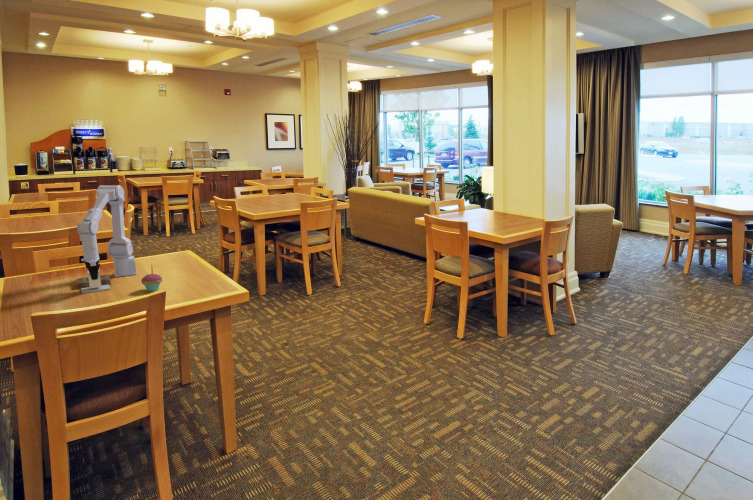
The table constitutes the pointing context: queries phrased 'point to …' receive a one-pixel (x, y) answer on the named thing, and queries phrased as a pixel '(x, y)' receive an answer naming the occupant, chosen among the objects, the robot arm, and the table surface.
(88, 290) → the grey mat
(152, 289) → the cupcake
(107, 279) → the pocket board
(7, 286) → the table surface
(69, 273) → the table surface
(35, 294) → the table surface
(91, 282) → the cream block
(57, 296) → the table surface
